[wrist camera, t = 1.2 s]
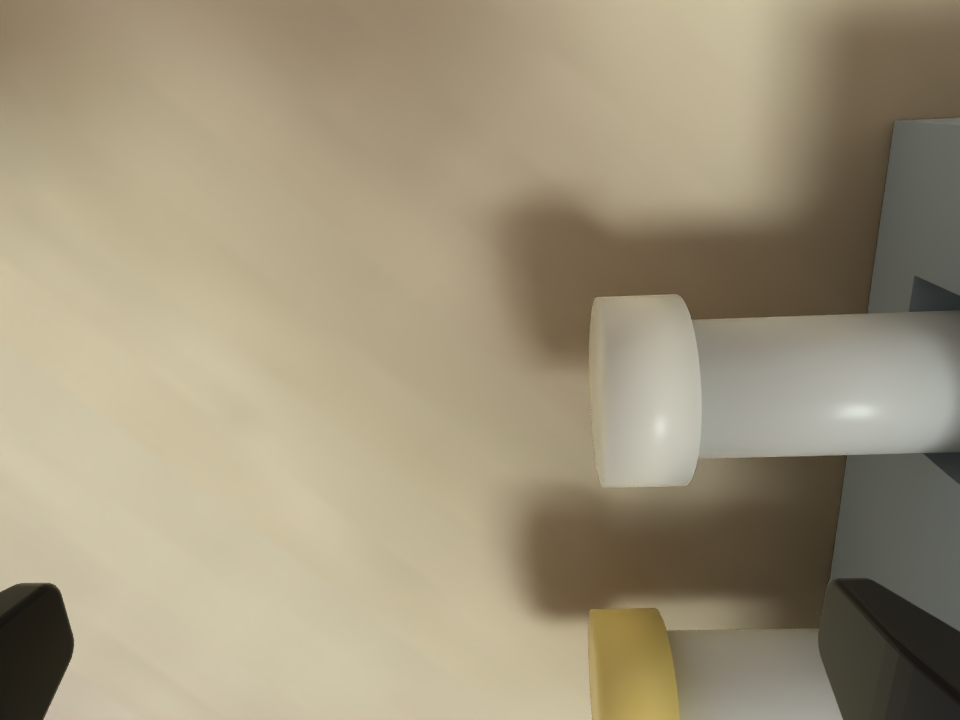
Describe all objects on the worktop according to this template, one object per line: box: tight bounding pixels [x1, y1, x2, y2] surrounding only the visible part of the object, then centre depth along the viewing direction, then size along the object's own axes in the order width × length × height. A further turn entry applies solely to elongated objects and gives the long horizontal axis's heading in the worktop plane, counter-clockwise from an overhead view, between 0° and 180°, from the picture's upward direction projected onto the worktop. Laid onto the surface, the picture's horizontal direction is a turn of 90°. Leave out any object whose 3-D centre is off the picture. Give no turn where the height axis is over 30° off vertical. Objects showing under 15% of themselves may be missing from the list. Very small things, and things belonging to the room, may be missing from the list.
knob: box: [589, 294, 960, 488], centre depth 17 cm, size 4×9×4 cm, turn 93°
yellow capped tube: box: [588, 608, 843, 720], centre depth 20 cm, size 4×9×4 cm, turn 93°
